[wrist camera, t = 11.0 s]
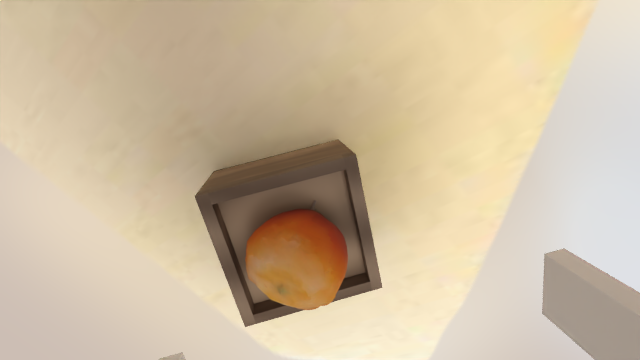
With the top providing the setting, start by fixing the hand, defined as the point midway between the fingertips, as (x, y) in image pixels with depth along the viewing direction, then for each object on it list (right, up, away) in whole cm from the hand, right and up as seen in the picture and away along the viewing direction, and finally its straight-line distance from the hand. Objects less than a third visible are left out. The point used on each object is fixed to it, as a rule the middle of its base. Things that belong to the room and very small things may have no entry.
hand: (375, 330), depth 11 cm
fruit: (-4, 0, +17) cm, 17 cm away
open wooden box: (-5, +2, +22) cm, 23 cm away
